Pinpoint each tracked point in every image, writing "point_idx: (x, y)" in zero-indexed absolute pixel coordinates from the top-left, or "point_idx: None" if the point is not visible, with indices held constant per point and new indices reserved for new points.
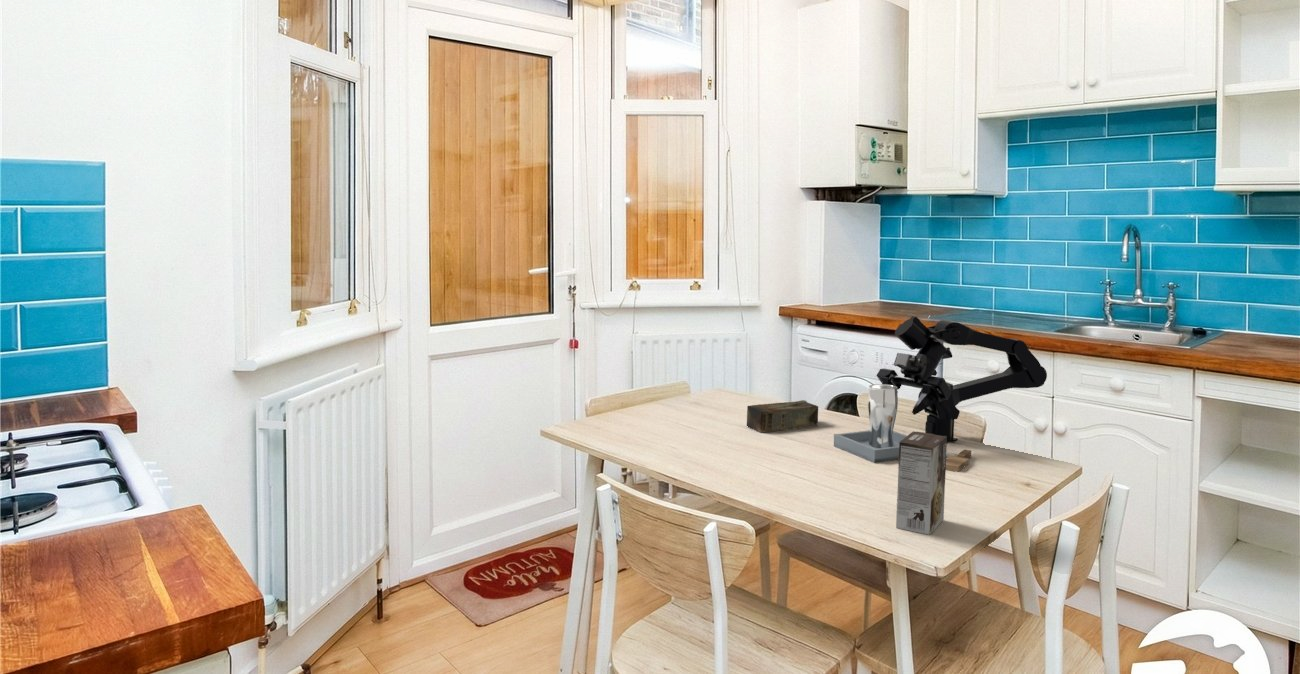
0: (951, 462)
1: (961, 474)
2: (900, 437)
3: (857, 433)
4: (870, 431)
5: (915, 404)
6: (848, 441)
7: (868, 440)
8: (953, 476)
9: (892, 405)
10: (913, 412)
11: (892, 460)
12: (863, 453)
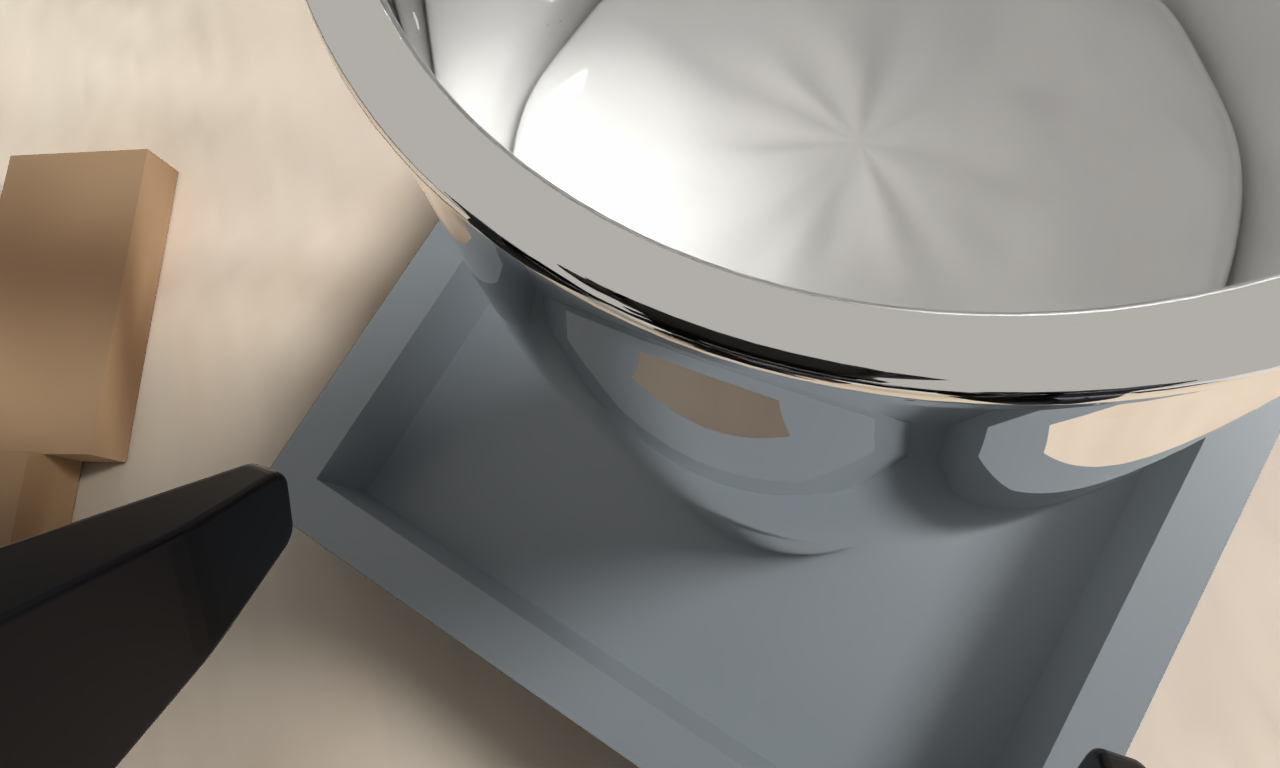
0: (67, 236)
1: (22, 137)
2: (669, 710)
3: (1191, 463)
4: (1095, 658)
5: (121, 559)
6: None
7: (1051, 602)
8: (69, 58)
9: (537, 15)
10: (253, 470)
11: None
12: None
